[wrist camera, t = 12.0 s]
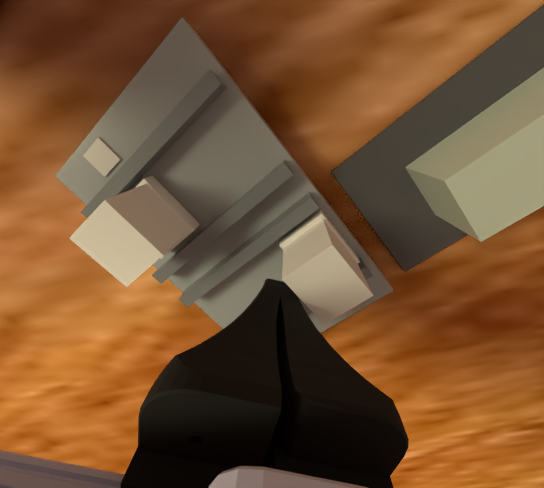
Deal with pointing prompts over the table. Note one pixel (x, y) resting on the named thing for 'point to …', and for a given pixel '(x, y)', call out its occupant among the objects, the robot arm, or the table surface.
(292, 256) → the tab
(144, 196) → the tab
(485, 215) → the driver
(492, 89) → the tool mat
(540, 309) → the table surface
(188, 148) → the switch panel
